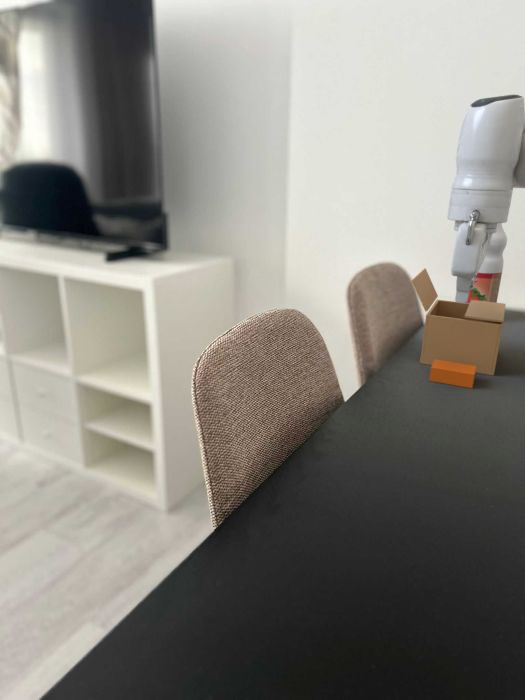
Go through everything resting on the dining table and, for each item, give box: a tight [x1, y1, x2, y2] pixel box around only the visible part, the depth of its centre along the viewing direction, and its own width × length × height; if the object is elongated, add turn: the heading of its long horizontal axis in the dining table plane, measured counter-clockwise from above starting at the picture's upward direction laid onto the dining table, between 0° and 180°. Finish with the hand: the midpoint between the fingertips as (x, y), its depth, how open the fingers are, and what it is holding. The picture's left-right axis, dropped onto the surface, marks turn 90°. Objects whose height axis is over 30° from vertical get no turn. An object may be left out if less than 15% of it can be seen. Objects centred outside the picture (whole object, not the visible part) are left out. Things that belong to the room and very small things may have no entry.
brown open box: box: [419, 299, 506, 377], centre depth 99 cm, size 14×13×10 cm
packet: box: [429, 359, 477, 389], centre depth 89 cm, size 4×7×3 cm, turn 64°
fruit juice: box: [466, 223, 508, 303], centre depth 126 cm, size 9×9×28 cm
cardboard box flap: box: [411, 268, 439, 312], centre depth 100 cm, size 14×6×1 cm
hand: (464, 296), depth 85 cm, fingers open, 8 cm apart
